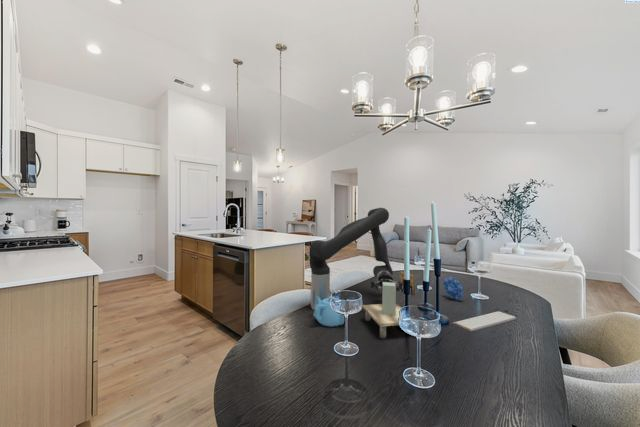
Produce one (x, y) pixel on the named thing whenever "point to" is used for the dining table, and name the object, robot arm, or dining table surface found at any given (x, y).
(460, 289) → the grapes
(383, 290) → the sage post
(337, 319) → the teapot
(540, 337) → the dining table surface
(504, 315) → the baseboard
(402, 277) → the ammunition clip
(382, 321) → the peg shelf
